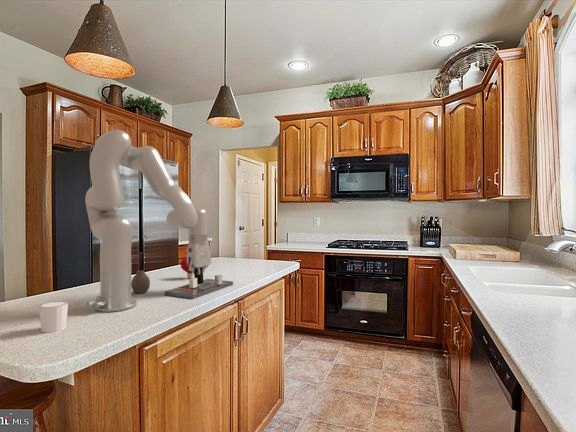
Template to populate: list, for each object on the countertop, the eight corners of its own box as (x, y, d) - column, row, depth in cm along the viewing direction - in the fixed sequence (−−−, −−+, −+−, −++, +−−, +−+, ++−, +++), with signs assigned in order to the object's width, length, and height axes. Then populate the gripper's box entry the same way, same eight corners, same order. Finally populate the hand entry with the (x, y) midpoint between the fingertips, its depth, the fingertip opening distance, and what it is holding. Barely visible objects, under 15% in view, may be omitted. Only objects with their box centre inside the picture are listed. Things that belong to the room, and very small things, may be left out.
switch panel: (193, 299, 125) (192, 284, 125) (164, 295, 131) (164, 280, 131) (233, 284, 149) (233, 272, 148) (207, 282, 155) (207, 269, 154)
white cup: (73, 324, 97) (73, 300, 97) (58, 333, 91) (58, 307, 90) (49, 324, 97) (49, 300, 97) (32, 333, 90) (32, 307, 90)
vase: (150, 293, 133) (149, 271, 133) (130, 295, 131) (130, 273, 131) (150, 289, 140) (150, 268, 140) (131, 291, 137) (131, 270, 137)
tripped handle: (193, 288, 134) (193, 279, 134) (189, 287, 135) (189, 278, 135) (197, 286, 136) (197, 278, 136) (193, 286, 137) (193, 277, 137)
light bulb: (202, 277, 166) (201, 256, 166) (196, 280, 159) (196, 259, 159) (183, 276, 167) (183, 256, 167) (177, 279, 160) (177, 258, 160)
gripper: (192, 241, 129) (194, 288, 130) (216, 237, 143) (217, 280, 144) (178, 240, 133) (179, 286, 133) (202, 237, 146) (203, 279, 147)
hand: (199, 283), depth 138 cm, fingers closed
